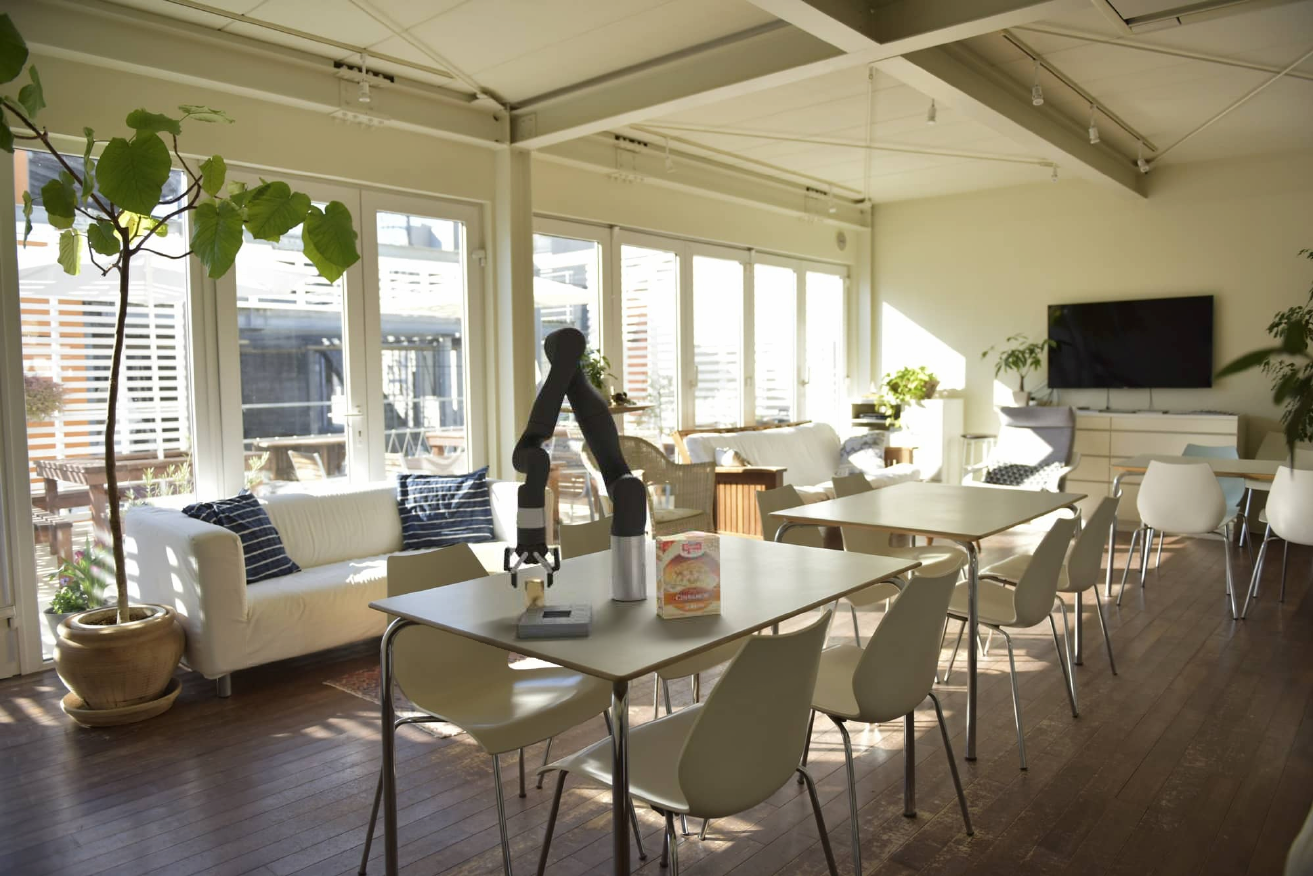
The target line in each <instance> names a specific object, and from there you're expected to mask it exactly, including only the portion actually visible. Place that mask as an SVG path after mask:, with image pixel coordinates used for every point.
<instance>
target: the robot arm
mask: <svg viewBox="0 0 1313 876" xmlns="http://www.w3.org/2000/svg"><path fill="white" fill-rule="evenodd" d="M586 347H587V341H586V337H585V335H584V333H582V331H581V330H580V329H578V328H577V327H574V326H566V327H562V328H560V329H557V330H554V331H552V332H550V333H549V334H548V335H547V336H546V337H545V340H544V343H543V351H544V353H545V356H546V359H547V361H548V362H549V364H550V368H549V372H548V375H547V376H546V379H545V381H544V383H543V386H542V387H541V389H540V390H539V393H538V395H537V397H536V398H535V401H534V403H533V406H532V409H531V412H530V415H529V418H528V421H527V423H526V428H525V430H524V431H523V433H522V434H521V436H520V438H519V440H518V441H517V442H516V444H515V447H514V449H513V451H512V455H511V456H512V457H511V463H512V466H513V468H514V470H515V471H516V472H518V473H520V474H525V475H526V477H525V481H524V483H522V484H520V485H519V486H518V487H517V492H516V493H517V496H516V497H517V510H516V512H517V513H516V521H515V522H516V547H510V546H508V545H507V546H506V547H505V548H504V551H503V552H504V553H503V570H504V572H508V573H510V582H511V583H510V585H511V587H512V586H513V589H517V588H518V586H519V585H518V584H519V583H518V582H519V581H518V580H519V579H518V572H517V570H518V569H519V568H520V567H521V565H522V564H524V565H539V564H541V566H542V567H543V569H545V571H546V572H547V573H546V586H547V587H546V588H548V589H550V588H551V587H552V586H553V584H554V573H555V572H558V571H559V570H560V569H561V560H560V559H561V555H560V547H559V546H557V545H556V546H553V547H549V546H548V544H547V512H546V511H547V510H546V490H547V489H546V488H547V485H548V481H549V477H550V472H551V458H550V454H549V453H548V451H547V450H546V449H545V448H543V447H542V445H543V443H545V442H547V441H550V440H551V439H552V437H553V435H554V432H555V429H556V426H557V423H558V420H559V417H560V413H561V409H562V406H563V403H564V400H565V397H566V399H567V401H568V404H569V405H570V408H571V410H572V412H573V415H574V418H575V420H576V422H577V425H578V428H579V430H580V433H581V434H582V436H583V438H584V441H585V443H586V444H587V446H588V449H589V451H590V452H591V454H592V456H593V457H594V460H595V462H596V463H597V466H598V468H599V471H600V474H601V477H602V481H603V483H604V486H605V491H606V494H607V497H608V498H609V500H610V502H611V503H612V521H611V524H610V548H611V549H610V552H611V553H610V555H611V561H610V562H611V593H612V594H611V595H612V599H613V600H615V601H616V600H617V601H622V602H630V601H631V602H632V601H640V600H641V601H642V600H647V597H648V595H647V564H646V563H647V561H646V559H647V558H646V525H647V520H648V519H647V518H648V516H647V514H648V512H647V511H648V510H647V509H648V508H647V507H648V504H647V503H648V501H647V498H648V497H647V496H648V495H647V489H646V486H645V483H644V482H643V480H641V479H640V478H638V477H636V476H635V475H634V474H633V472H632V471H631V468H630V467H629V466H628V464H627V461H626V459H625V457H624V454H623V452H622V448H621V447H622V446H621V442H620V437H619V432H618V428H617V425H616V422H615V420H614V416H613V415H612V412H611V409H610V407H609V405H608V403H607V402H606V400H605V398H604V396H603V395H602V394H601V393H600V392H599V391H598V389H597V388H596V387H595V386H594V385H593V384H592V382H591V381H590V380H589V378H588V377H587V375H586V374H585V371H584V369H583V366H582V364H581V361H582V358H583V356H584V354H585V351H586ZM514 553H515V554H516V555H517V557H518V560H517V561H516V563H514V565H513V566H511V557H512V556H513V555H514ZM548 553H550V556H552V557H553V562H554V565H553V566H552V565H551V564H550V562H549V560H548V559H547V558H546V556H547V555H548Z"/></svg>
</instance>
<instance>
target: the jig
mask: <svg viewBox="0 0 1313 876" xmlns="http://www.w3.org/2000/svg"><path fill="white" fill-rule="evenodd" d="M593 616H594V614H593V604H592V603H591V604H590V603H589V604H588V603H587V604H559V605H555V604H554V605H552V604H551V605H550V604H549V605H545V606H528V607H527V609H525V611H524V613H523V615H522V616H521V619H520V621H519V623H518V627H517V628H518V638H519V637H523V638H526V639H527V638H529V639H531V638H562V637H565V638H567V637H589V636H590V631H591V627H592V621H593ZM523 638H522V639H523Z"/></svg>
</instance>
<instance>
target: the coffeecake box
mask: <svg viewBox="0 0 1313 876" xmlns="http://www.w3.org/2000/svg"><path fill="white" fill-rule="evenodd" d="M720 539H721V538H720V536H718V535H717V534H714V533H712V532H708V533H706V532H705V533H694V534H693V533H692V534H691V533H690V534H680V535H679V534H678V535H676V534H675V535H663V536H662V535H661V536H655V541H654V542H655V579H656V580H655V581H656V583H655V586H656V589H655V590H656V598H655V599H656V613H657V614H658V615H659V616H660V617H661V618H662V619H663V620H670V619H672V620H674V619H679V618H681V619H682V618H689V617H690V618H691V617H692V618H693V617H703V616H712V615H721V613H722V611H721V609H722V608H721V606H722V605H721V602H722V601H721V555H720V554H721V548H720V545H721V544H720V543H721V542H720Z"/></svg>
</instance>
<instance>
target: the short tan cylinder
mask: <svg viewBox="0 0 1313 876" xmlns="http://www.w3.org/2000/svg"><path fill="white" fill-rule="evenodd" d="M545 590H546V589H545V579H544V578H541V577H533V578H527V579H524V597H525V598H524V602H525V603H524V606H525V610H526V609H527V607H528V606H546V595H545Z"/></svg>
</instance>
